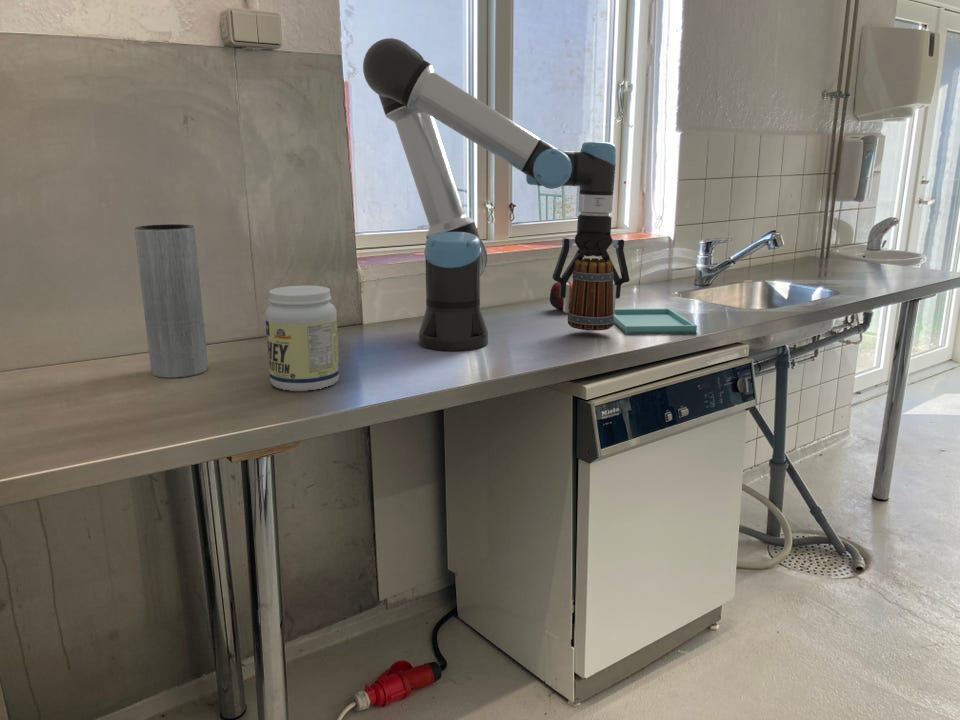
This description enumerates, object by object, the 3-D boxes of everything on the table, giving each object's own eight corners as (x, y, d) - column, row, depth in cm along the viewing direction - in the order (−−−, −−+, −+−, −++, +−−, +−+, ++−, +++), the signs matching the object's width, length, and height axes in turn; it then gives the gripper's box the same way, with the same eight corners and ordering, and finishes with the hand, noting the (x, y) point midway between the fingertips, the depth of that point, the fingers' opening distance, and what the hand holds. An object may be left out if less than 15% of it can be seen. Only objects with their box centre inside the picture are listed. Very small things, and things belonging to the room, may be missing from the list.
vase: (148, 380, 134) (130, 229, 127) (155, 366, 143) (138, 224, 136) (206, 376, 136) (192, 228, 129) (209, 362, 146) (196, 223, 138)
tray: (625, 334, 170) (625, 326, 169) (606, 315, 190) (606, 309, 189) (696, 333, 171) (696, 325, 170) (669, 315, 191) (670, 308, 190)
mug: (612, 332, 163) (617, 264, 159) (564, 329, 165) (568, 262, 161) (615, 318, 178) (619, 256, 174) (571, 315, 180) (574, 254, 176)
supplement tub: (257, 383, 132) (249, 289, 128) (316, 370, 140) (311, 281, 136) (293, 398, 124) (286, 298, 119) (353, 383, 132) (349, 289, 128)
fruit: (583, 312, 195) (584, 282, 192) (557, 314, 192) (558, 283, 190) (569, 307, 202) (570, 277, 199) (544, 309, 199) (545, 279, 197)
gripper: (547, 214, 160) (542, 314, 166) (649, 216, 162) (641, 315, 168) (542, 211, 168) (538, 308, 173) (640, 214, 169) (632, 309, 175)
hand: (588, 312), depth 171 cm, fingers closed on mug, 10 cm apart
